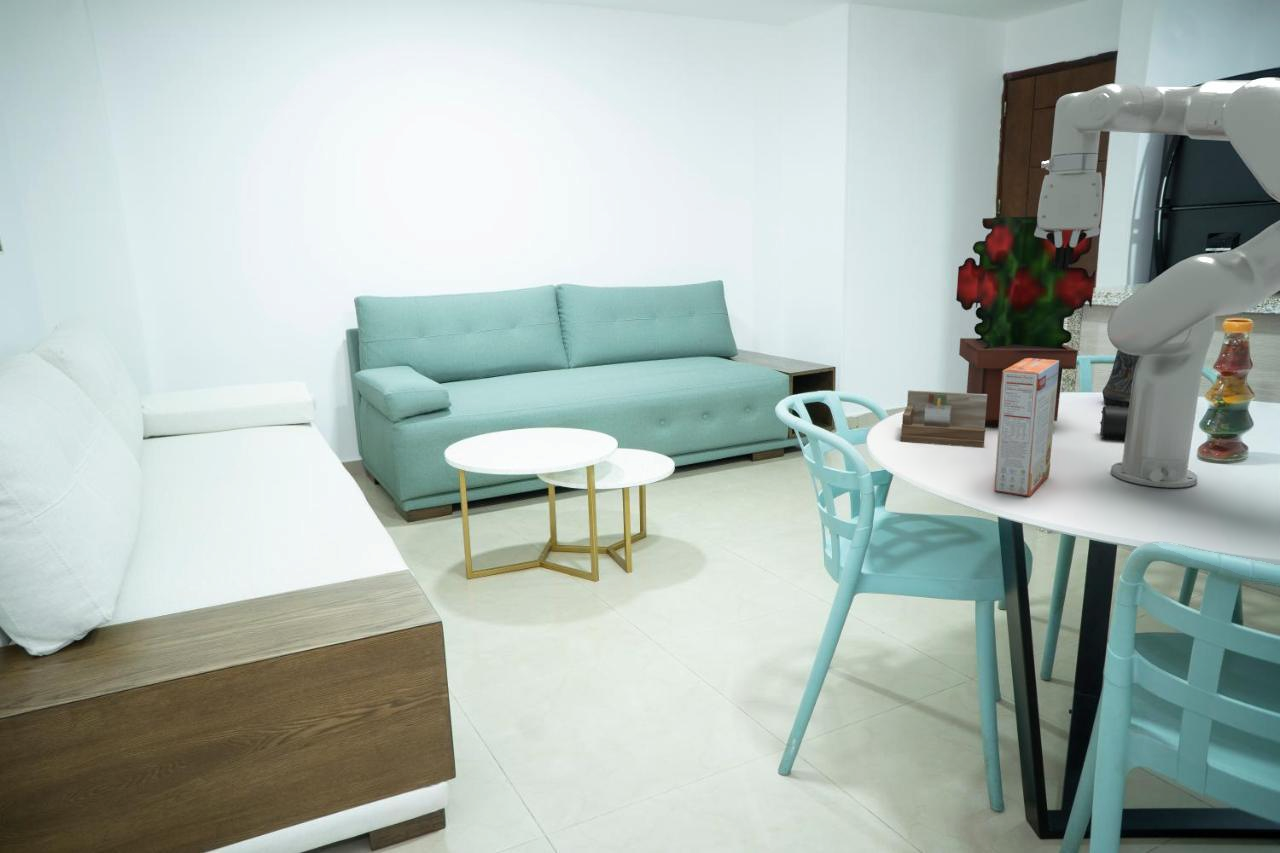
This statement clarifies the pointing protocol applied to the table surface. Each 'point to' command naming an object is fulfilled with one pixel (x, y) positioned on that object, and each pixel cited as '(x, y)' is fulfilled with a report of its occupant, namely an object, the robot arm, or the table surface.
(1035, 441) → the cracker box
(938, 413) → the white block with knob
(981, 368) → the potted plant
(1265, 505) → the table surface
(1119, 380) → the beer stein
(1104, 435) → the end cap
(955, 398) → the wooden toy tray
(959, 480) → the table surface
